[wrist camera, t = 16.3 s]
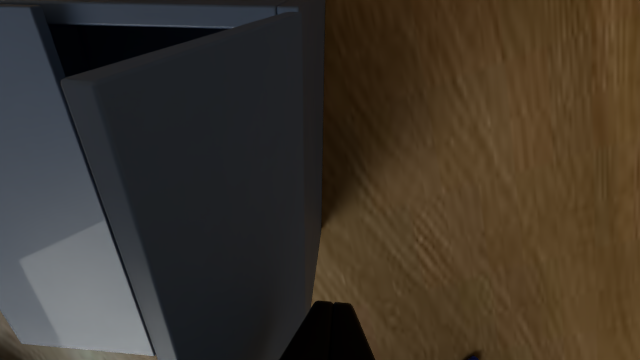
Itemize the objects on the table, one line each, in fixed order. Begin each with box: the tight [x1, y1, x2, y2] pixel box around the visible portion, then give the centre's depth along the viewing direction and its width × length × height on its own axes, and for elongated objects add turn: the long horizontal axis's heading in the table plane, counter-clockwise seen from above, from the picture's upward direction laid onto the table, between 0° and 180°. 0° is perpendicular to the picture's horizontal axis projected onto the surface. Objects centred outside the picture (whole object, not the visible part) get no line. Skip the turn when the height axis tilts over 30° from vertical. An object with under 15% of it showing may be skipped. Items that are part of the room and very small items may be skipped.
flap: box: [61, 12, 306, 360], centre depth 8 cm, size 12×5×1 cm
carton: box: [0, 0, 325, 356], centre depth 14 cm, size 12×11×8 cm
